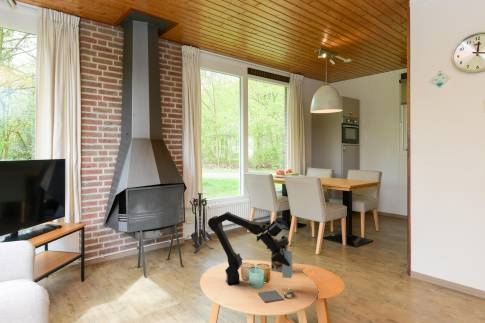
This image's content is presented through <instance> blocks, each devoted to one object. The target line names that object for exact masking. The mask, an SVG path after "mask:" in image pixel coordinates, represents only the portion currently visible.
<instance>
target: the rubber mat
mask: <svg viewBox="0 0 485 323" xmlns="http://www.w3.org/2000/svg"><path fill="white" fill-rule="evenodd" d="M257 294H258V296H259V297H260V299H261V300H262V301H263V302H264V303H271V302H272V303H273V302H278V301H279V302H280V301H284V299H285V298H284V297H283V296H282V295H281V294H280V293H279V292H278V291H277V290H275V289H274V290H266V291H258V292H257Z"/></svg>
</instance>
